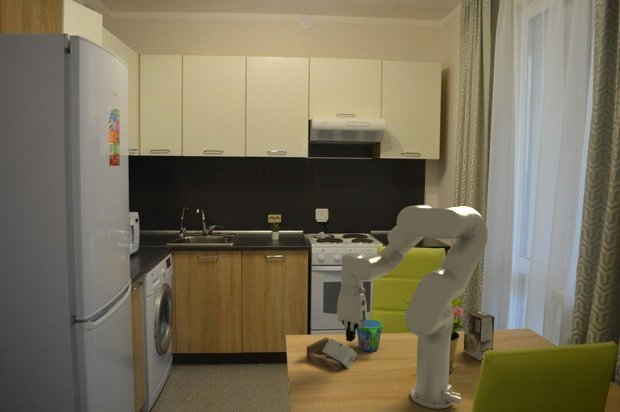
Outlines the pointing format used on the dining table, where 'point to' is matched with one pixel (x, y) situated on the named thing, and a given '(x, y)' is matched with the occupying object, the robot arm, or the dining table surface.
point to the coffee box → (478, 333)
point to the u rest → (315, 356)
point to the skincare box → (339, 352)
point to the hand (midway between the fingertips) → (350, 340)
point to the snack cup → (369, 335)
